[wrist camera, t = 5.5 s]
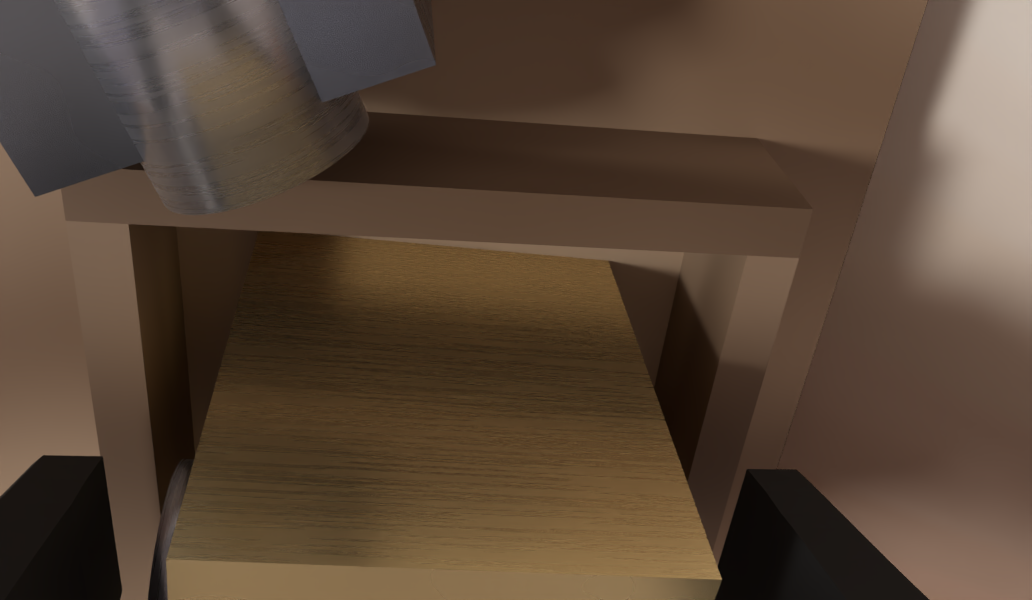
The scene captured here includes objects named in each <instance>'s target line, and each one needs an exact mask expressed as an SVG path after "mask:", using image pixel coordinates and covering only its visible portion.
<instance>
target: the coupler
mask: <svg viewBox="0 0 1032 600" xmlns="http://www.w3.org/2000/svg"><path fill="white" fill-rule="evenodd" d="M721 582H722V578H721V575H720V572H719V570H718V567H717V564H716V561H715V558H714V556H713V553H712V550H711V547H710V544H709V542H708V539H707V536H706V533H705V530H704V528H703V525H702V522H701V519H700V516H699V514H698V511H697V508H696V505H695V502H694V500H693V497H692V494H691V491H690V488H689V486H688V483H687V480H686V477H685V474H684V472H683V469H682V466H681V463H680V460H679V458H678V455H677V452H676V449H675V446H674V444H673V441H672V438H671V435H670V432H669V430H668V427H667V424H666V421H665V418H664V416H663V413H662V410H661V407H660V404H659V402H658V399H657V396H656V393H655V390H654V388H653V385H652V382H651V379H650V376H649V374H648V371H647V368H646V365H645V362H644V360H643V357H642V354H641V351H640V348H639V346H638V343H637V340H636V337H635V334H634V332H633V329H632V326H631V323H630V320H629V318H628V315H627V312H626V309H625V306H624V304H623V301H622V298H621V295H620V292H619V290H618V287H617V284H616V281H615V278H614V276H613V273H612V270H611V267H610V264H609V262H608V261H607V260H596V259H585V258H574V257H563V256H552V255H541V254H530V253H518V252H507V251H496V250H485V249H474V248H463V247H452V246H441V245H430V244H419V243H408V242H397V241H385V240H374V239H363V238H352V237H341V236H330V235H319V234H308V233H293V232H274V231H259V232H258V235H257V239H256V242H255V246H254V249H253V253H252V256H251V260H250V264H249V267H248V271H247V274H246V278H245V281H244V285H243V288H242V292H241V295H240V299H239V303H238V306H237V310H236V313H235V317H234V320H233V324H232V327H231V331H230V335H229V338H228V342H227V345H226V349H225V352H224V356H223V359H222V363H221V366H220V370H219V374H218V377H217V381H216V384H215V388H214V391H213V395H212V398H211V402H210V405H209V409H208V413H207V416H206V420H205V423H204V427H203V430H202V434H201V437H200V441H199V445H198V448H197V452H196V455H195V459H182V460H181V461H180V462H179V464H178V465H177V467H176V469H175V471H174V473H173V476H172V478H171V481H170V484H169V487H168V490H167V494H166V498H165V501H164V505H163V509H162V513H161V518H160V523H159V527H158V533H157V538H156V543H155V549H154V555H153V562H152V569H151V576H150V584H149V592H148V600H715V598H716V595H717V592H718V590H719V587H720V584H721Z"/></svg>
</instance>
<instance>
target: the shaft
mask: <svg viewBox="0 0 1032 600" xmlns="http://www.w3.org/2000/svg"><path fill="white" fill-rule="evenodd" d="M435 65H436V57H435V44H434V31H433V18H432V5H431V0H0V143H1V145H2V146H3V148H4V149H5V151H6V153H7V154H8V156H9V157H10V159H11V160H12V162H13V163H14V165H15V167H16V168H17V170H18V171H19V173H20V174H21V176H22V177H23V179H24V181H25V182H26V184H27V185H28V187H29V188H30V190H31V191H32V193H33V195H34V196H35V197H37V196H40V195H43V194H46V193H49V192H52V191H55V190H58V189H61V188H64V187H67V186H70V185H73V184H76V183H79V182H82V181H85V180H88V179H91V178H95V177H98V176H101V175H104V174H107V173H110V172H113V171H116V170H119V169H122V168H125V167H128V166H131V165H134V164H137V163H141V165H142V166H143V168H144V170H145V172H146V174H147V175H148V177H149V179H150V181H151V182H152V184H153V186H154V188H155V190H156V191H157V193H158V195H159V197H160V198H161V200H162V202H163V204H164V205H165V207H166V208H167V209H169V210H170V211H172V212H175V213H178V214H184V215H204V214H213V213H218V212H224V211H228V210H232V209H237V208H240V207H244V206H247V205H250V204H253V203H256V202H259V201H262V200H265V199H268V198H270V197H272V196H275V195H277V194H280V193H282V192H284V191H287V190H289V189H291V188H293V187H295V186H297V185H299V184H301V183H303V182H305V181H307V180H309V179H311V178H312V177H314V176H316V175H317V174H319V173H321V172H322V171H324V170H325V169H327V168H329V167H330V166H332V165H333V164H334V163H336V162H337V161H338V160H340V159H341V158H342V157H344V156H345V155H346V154H347V153H348V152H349V151H351V150H352V149H353V148H354V147H355V146H356V145H357V144H358V143H359V141H360V140H361V139H362V137H363V136H364V135H365V133H366V131H367V129H368V126H369V117H368V114H367V112H366V109H365V107H364V104H363V102H362V99H361V97H360V95H359V92H358V91H359V90H362V89H365V88H368V87H371V86H374V85H377V84H380V83H383V82H386V81H389V80H392V79H395V78H398V77H401V76H404V75H407V74H410V73H413V72H416V71H420V70H423V69H426V68H429V67H432V66H435Z"/></svg>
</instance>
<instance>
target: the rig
mask: <svg viewBox="0 0 1032 600" xmlns="http://www.w3.org/2000/svg"><path fill="white" fill-rule="evenodd" d="M927 2H928V0H431V5H432V18H433V31H434V44H435V57H436V65H435V66H432V67H429V68H426V69H423V70H420V71H416V72H413V73H410V74H407V75H404V76H401V77H398V78H395V79H392V80H389V81H386V82H383V83H380V84H377V85H374V86H371V87H368V88H365V89H362V90H359V91H358V92H359V95H360V97H361V99H362V102H363V104H364V107H365V109H366V112H367V114H368V117H369V126H368V129H367V131H366V133H365V135H364V136H363V137H362V139H361V140H360V141H359V143H358V144H357V145H356V146H355V147H354V148H353V149H352V150H351V151H349V152H348V153H347V154H346V155H345V156H344V157H342V158H341V159H340V160H338V161H337V162H336V163H334V164H333V165H332V166H330V167H329V168H327V169H325V170H324V171H322V172H321V173H319V174H317V175H316V176H314V177H312V178H311V179H309V180H307V181H305V182H303V183H301V184H299V185H297V186H295V187H293V188H291V189H289V190H287V191H284V192H282V193H280V194H277V195H275V196H272V197H270V198H268V199H265V200H262V201H259V202H256V203H253V204H250V205H247V206H244V207H240V208H237V209H232V210H228V211H224V212H218V213H213V214H204V215H184V214H178V213H175V212H172V211H170V210H169V209H167V208H166V207H165V205H164V204H163V202H162V200H161V198H160V197H159V195H158V193H157V191H156V190H155V188H154V186H153V184H152V182H151V181H150V179H149V177H148V175H147V174H146V172H145V170H144V168H143V166H142V165H141V163H137V164H134V165H131V166H128V167H125V168H122V169H119V170H116V171H113V172H110V173H107V174H104V175H101V176H98V177H95V178H91V179H88V180H85V181H82V182H79V183H76V184H73V185H70V186H67V187H64V188H61V189H58V190H55V191H52V192H49V193H46V194H43V195H40V196H37V197H35V196H34V195H33V193H32V191H31V190H30V188H29V187H28V185H27V184H26V182H25V181H24V179H23V177H22V176H21V174H20V173H19V171H18V170H17V168H16V167H15V165H14V163H13V162H12V160H11V159H10V157H9V156H8V154H7V153H6V151H5V149H4V148H3V146H2V145H1V143H0V496H1V495H2V494H3V493H4V492H5V491H6V490H7V489H8V488H9V487H10V486H11V485H12V484H13V483H14V482H15V481H16V480H17V479H18V478H19V477H20V476H21V475H22V474H23V473H24V472H25V471H26V470H27V469H28V468H29V467H30V466H31V465H32V464H33V463H34V462H35V461H37V460H38V459H39V458H40V457H41V456H43V455H62V456H103V461H104V468H105V474H106V481H107V488H108V495H109V502H110V509H111V516H112V522H113V529H114V536H115V543H116V550H117V557H118V564H119V570H120V577H121V584H122V594H121V599H120V600H148V592H149V584H150V576H151V569H152V562H153V555H154V549H155V543H156V538H157V533H158V527H159V523H160V518H161V513H162V509H163V505H164V501H165V498H166V494H167V490H168V487H169V484H170V481H171V478H172V476H173V473H174V471H175V469H176V467H177V465H178V464H179V462H180V461H181V460H182V459H195V455H196V452H197V448H198V445H199V441H200V437H201V434H202V430H203V427H204V423H205V420H206V416H207V413H208V409H209V405H210V402H211V398H212V395H213V391H214V388H215V384H216V381H217V377H218V374H219V370H220V366H221V363H222V359H223V356H224V352H225V349H226V345H227V342H228V338H229V335H230V331H231V327H232V324H233V320H234V317H235V313H236V310H237V306H238V303H239V299H240V295H241V292H242V288H243V285H244V281H245V278H246V274H247V271H248V267H249V264H250V260H251V256H252V253H253V249H254V246H255V242H256V239H257V235H258V232H259V231H274V232H293V233H308V234H319V235H330V236H341V237H352V238H363V239H374V240H385V241H397V242H408V243H419V244H430V245H441V246H452V247H463V248H474V249H485V250H496V251H507V252H518V253H530V254H541V255H552V256H563V257H574V258H585V259H596V260H607V261H608V262H609V264H610V267H611V270H612V273H613V276H614V278H615V281H616V284H617V287H618V290H619V292H620V295H621V298H622V301H623V304H624V306H625V309H626V312H627V315H628V318H629V320H630V323H631V326H632V329H633V332H634V334H635V337H636V340H637V343H638V346H639V348H640V351H641V354H642V357H643V360H644V362H645V365H646V368H647V371H648V374H649V376H650V379H651V382H652V385H653V388H654V390H655V393H656V396H657V399H658V402H659V404H660V407H661V410H662V413H663V416H664V418H665V421H666V424H667V427H668V430H669V432H670V435H671V438H672V441H673V444H674V446H675V449H676V452H677V455H678V458H679V460H680V463H681V466H682V469H683V472H684V474H685V477H686V480H687V483H688V486H689V488H690V491H691V494H692V497H693V500H694V502H695V505H696V508H697V511H698V514H699V516H700V519H701V522H702V525H703V528H704V530H705V533H706V536H707V539H708V542H709V544H710V547H711V550H712V553H713V556H714V558H715V561H716V564H717V566H718V563H719V560H720V556H721V553H722V550H723V546H724V543H725V540H726V536H727V533H728V530H729V526H730V523H731V520H732V516H733V513H734V510H735V507H736V503H737V500H738V497H739V493H740V490H741V487H742V483H743V480H744V477H745V473H746V470H747V469H777V467H778V464H779V461H780V457H781V454H782V451H783V448H784V445H785V442H786V439H787V436H788V433H789V430H790V426H791V423H792V420H793V417H794V414H795V411H796V408H797V405H798V402H799V399H800V396H801V392H802V389H803V386H804V383H805V380H806V377H807V374H808V371H809V368H810V365H811V361H812V358H813V355H814V352H815V349H816V346H817V343H818V340H819V337H820V334H821V330H822V327H823V324H824V321H825V318H826V315H827V312H828V309H829V306H830V303H831V299H832V296H833V293H834V290H835V287H836V284H837V281H838V278H839V275H840V272H841V269H842V265H843V262H844V259H845V256H846V253H847V250H848V247H849V244H850V241H851V238H852V234H853V231H854V228H855V225H856V222H857V219H858V216H859V213H860V210H861V207H862V203H863V200H864V197H865V194H866V191H867V188H868V185H869V182H870V179H871V176H872V172H873V169H874V166H875V163H876V160H877V157H878V154H879V151H880V148H881V145H882V142H883V138H884V135H885V132H886V129H887V126H888V123H889V120H890V117H891V114H892V111H893V107H894V104H895V101H896V98H897V95H898V92H899V89H900V86H901V83H902V80H903V76H904V73H905V70H906V67H907V64H908V61H909V58H910V55H911V52H912V49H913V46H914V42H915V39H916V36H917V33H918V30H919V27H920V24H921V21H922V18H923V15H924V11H925V8H926V5H927Z"/></svg>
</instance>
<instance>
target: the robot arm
mask: <svg viewBox="0 0 1032 600" xmlns="http://www.w3.org/2000/svg"><path fill="white" fill-rule="evenodd" d="M717 567H718V570H719V572H720V575H721V578H722V582H721V584H720V587H719V590H718V592H717V595H716V598H715V600H929V599H928V598H927V597H926V596H925V595H924V594H923V593H922V592H921V591H920V590H919V589H918V588H916V587H915V586H914V585H913V584H912V583H911V582H910V581H909V580H908V579H907V578H906V577H905V576H904V575H903V574H902V573H901V572H900V571H899V570H898V569H897V568H896V567H895V566H894V565H893V564H892V563H891V562H890V561H889V560H888V559H887V558H886V557H885V556H884V555H883V554H882V553H881V552H880V551H879V550H878V549H877V548H876V547H874V546H873V545H872V544H871V543H870V542H869V541H868V540H867V539H866V538H865V537H864V536H863V535H862V534H861V533H860V532H859V531H858V530H857V529H856V528H855V527H854V526H853V525H852V524H851V523H850V522H849V521H848V520H847V519H846V518H845V517H844V516H843V515H842V514H841V513H840V512H839V511H838V510H837V509H836V508H835V507H834V506H833V505H832V504H831V503H830V502H829V501H828V500H827V499H826V498H825V497H824V496H823V495H822V494H821V493H820V492H819V491H818V490H817V489H816V488H815V487H814V486H813V485H812V484H811V483H810V482H809V481H808V480H807V479H806V478H805V477H804V476H803V475H802V474H800V473H799V472H798V471H797V470H781V469H747V470H746V473H745V477H744V480H743V483H742V487H741V490H740V493H739V497H738V500H737V503H736V507H735V510H734V513H733V516H732V520H731V523H730V526H729V530H728V533H727V536H726V540H725V543H724V546H723V550H722V553H721V556H720V560H719V563H718V566H717ZM121 594H122V584H121V577H120V570H119V564H118V557H117V550H116V543H115V536H114V529H113V522H112V516H111V509H110V502H109V495H108V488H107V481H106V474H105V468H104V461H103V456H62V455H43V456H41V457H40V458H39V459H38V460H37V461H35V462H34V463H33V464H32V465H31V466H30V467H29V468H28V469H27V470H26V471H25V472H24V473H23V474H22V475H21V476H20V477H19V478H18V479H17V480H16V481H15V482H14V483H13V484H12V485H11V486H10V487H9V488H8V489H7V490H6V491H5V492H4V493H3V494H2V495H1V496H0V600H120V599H121Z"/></svg>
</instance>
